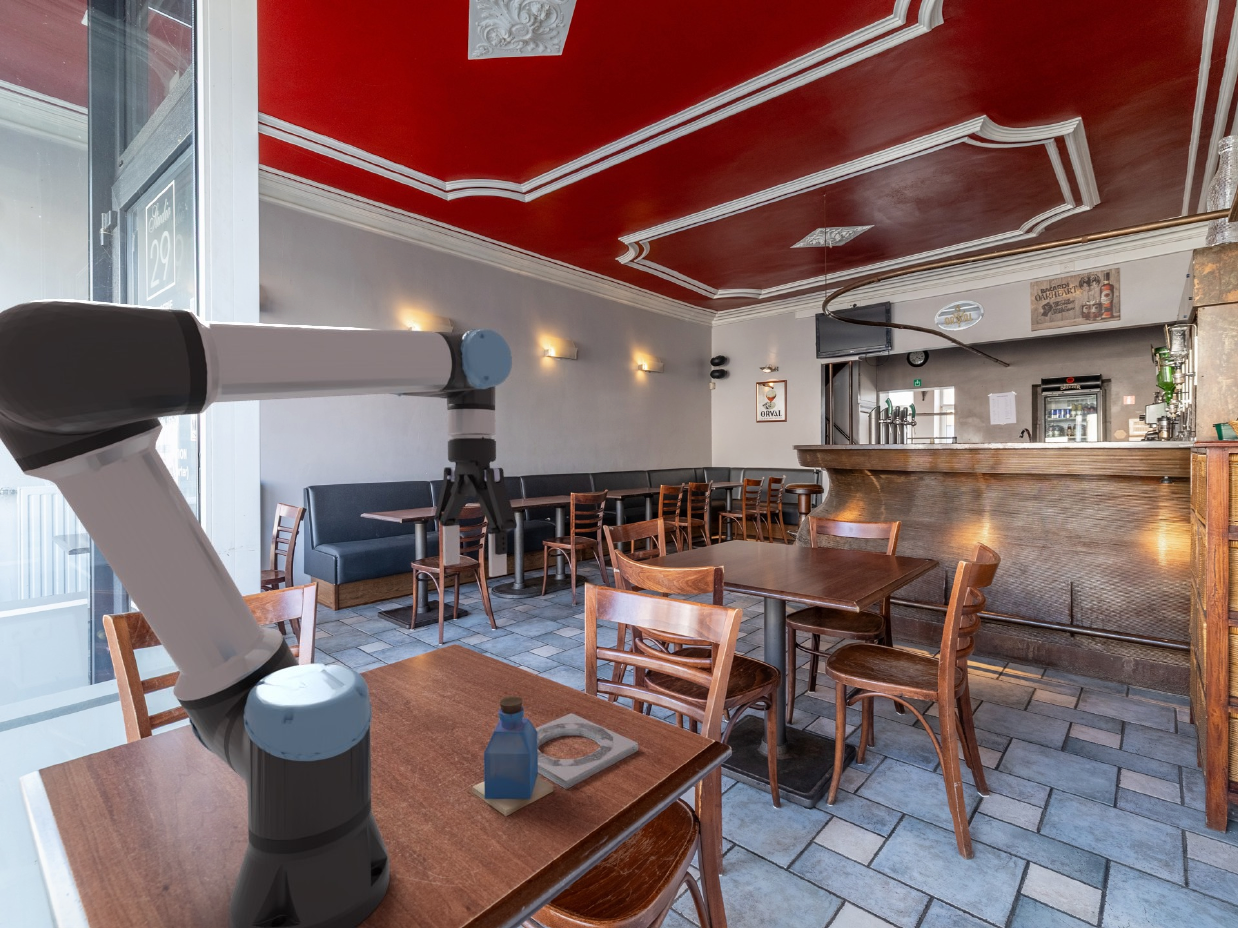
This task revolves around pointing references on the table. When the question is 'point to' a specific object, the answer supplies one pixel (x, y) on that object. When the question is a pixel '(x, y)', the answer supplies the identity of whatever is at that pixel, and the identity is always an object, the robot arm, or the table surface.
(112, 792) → the table surface
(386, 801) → the table surface
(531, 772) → the perfume bottle
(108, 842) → the table surface
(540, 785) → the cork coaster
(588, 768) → the eye plate
